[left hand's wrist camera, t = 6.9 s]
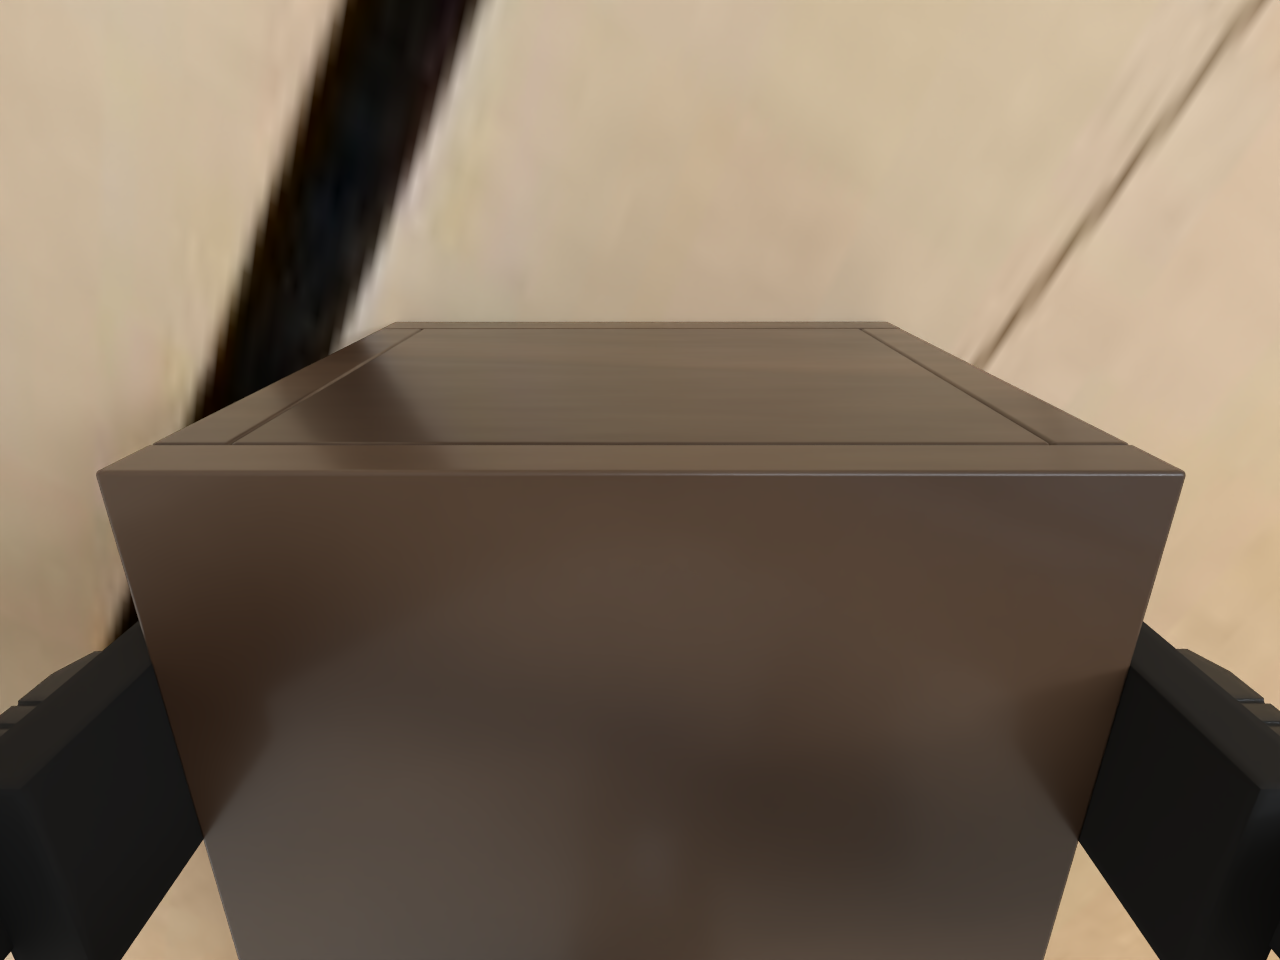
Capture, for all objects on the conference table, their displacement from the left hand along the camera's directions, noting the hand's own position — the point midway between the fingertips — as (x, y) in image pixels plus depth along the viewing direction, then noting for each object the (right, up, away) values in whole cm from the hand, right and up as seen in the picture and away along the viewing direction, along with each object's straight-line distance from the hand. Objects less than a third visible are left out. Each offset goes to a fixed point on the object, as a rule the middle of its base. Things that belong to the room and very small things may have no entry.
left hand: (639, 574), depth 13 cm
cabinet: (0, -5, +7) cm, 9 cm away
